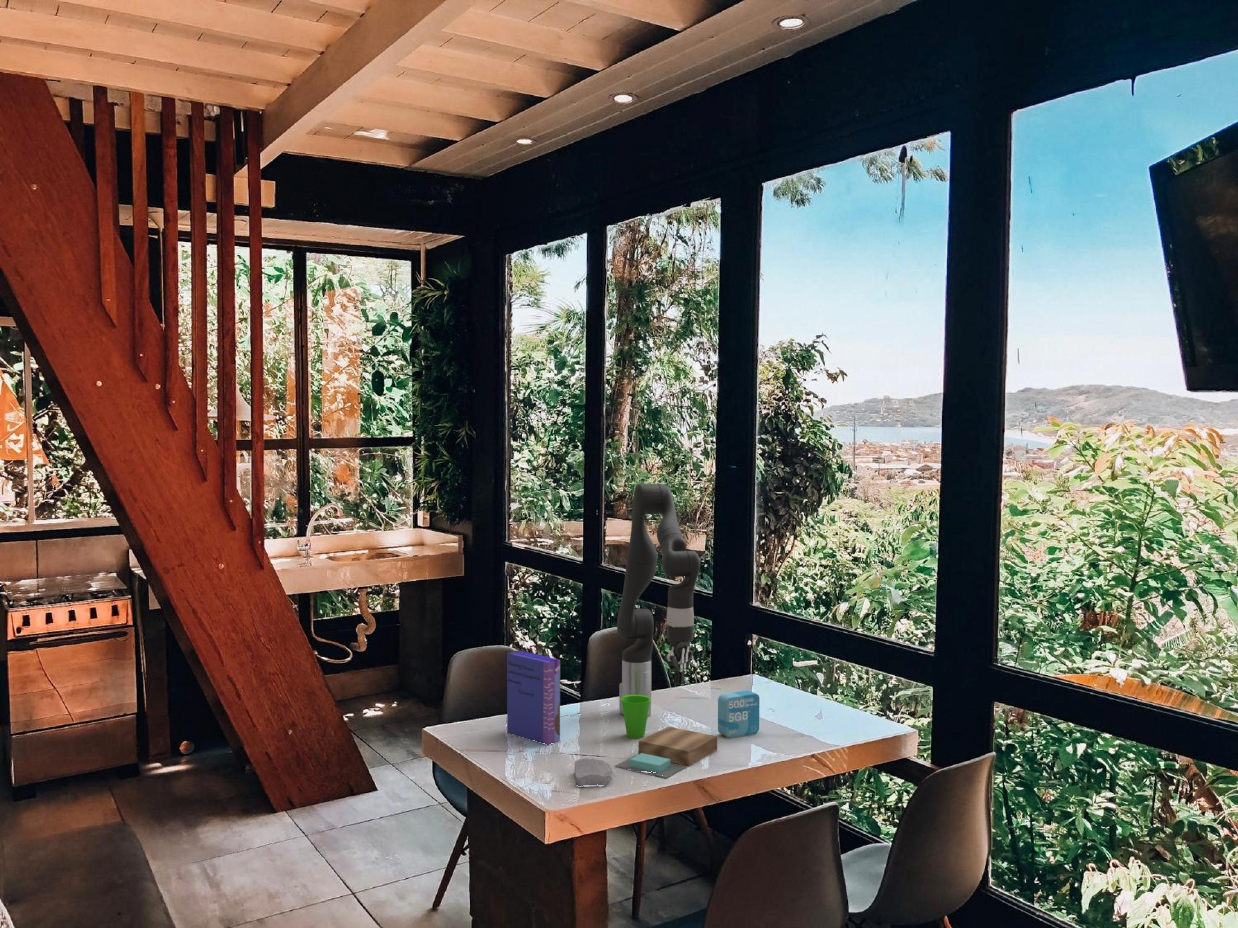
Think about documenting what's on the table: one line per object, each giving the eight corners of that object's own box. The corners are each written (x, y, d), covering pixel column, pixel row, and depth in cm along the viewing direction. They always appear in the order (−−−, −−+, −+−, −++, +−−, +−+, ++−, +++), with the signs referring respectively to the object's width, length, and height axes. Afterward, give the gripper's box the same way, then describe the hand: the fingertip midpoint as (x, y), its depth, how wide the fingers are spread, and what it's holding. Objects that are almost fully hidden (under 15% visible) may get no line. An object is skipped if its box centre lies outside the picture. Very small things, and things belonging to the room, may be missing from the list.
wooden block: (638, 754, 273) (638, 740, 273) (668, 739, 286) (668, 726, 286) (688, 766, 264) (688, 751, 264) (717, 750, 278) (717, 735, 277)
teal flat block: (641, 752, 268) (641, 760, 268) (629, 759, 263) (629, 766, 263) (670, 758, 263) (670, 766, 263) (659, 765, 258) (659, 772, 258)
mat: (615, 766, 264) (615, 765, 264) (635, 756, 272) (635, 755, 272) (666, 778, 255) (666, 777, 255) (685, 767, 263) (685, 766, 263)
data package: (726, 738, 288) (726, 697, 288) (717, 734, 292) (717, 694, 291) (759, 732, 294) (759, 692, 293) (750, 728, 298) (750, 689, 297)
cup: (655, 733, 293) (655, 696, 292) (643, 742, 284) (643, 704, 284) (628, 729, 296) (628, 693, 296) (615, 738, 288) (615, 700, 288)
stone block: (608, 778, 261) (571, 771, 260) (612, 760, 260) (574, 754, 259) (611, 796, 249) (572, 789, 248) (615, 778, 249) (576, 771, 248)
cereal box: (559, 741, 285) (560, 658, 284) (547, 745, 281) (547, 661, 280) (519, 729, 296) (519, 649, 296) (507, 732, 293) (507, 652, 292)
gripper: (680, 616, 282) (679, 676, 283) (656, 624, 271) (655, 687, 272) (703, 620, 278) (702, 681, 279) (679, 628, 267) (678, 691, 268)
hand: (679, 684), depth 275 cm, fingers closed
